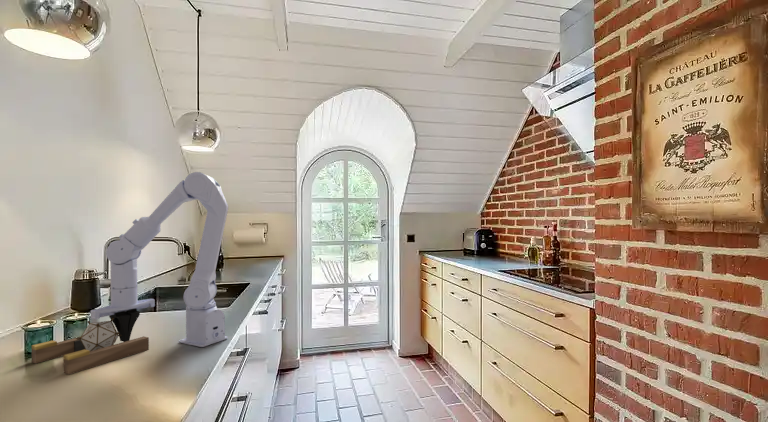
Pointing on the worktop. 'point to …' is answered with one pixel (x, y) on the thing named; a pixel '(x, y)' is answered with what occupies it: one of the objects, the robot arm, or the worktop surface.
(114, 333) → the game die
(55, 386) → the worktop surface
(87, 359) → the twin wooden rails
